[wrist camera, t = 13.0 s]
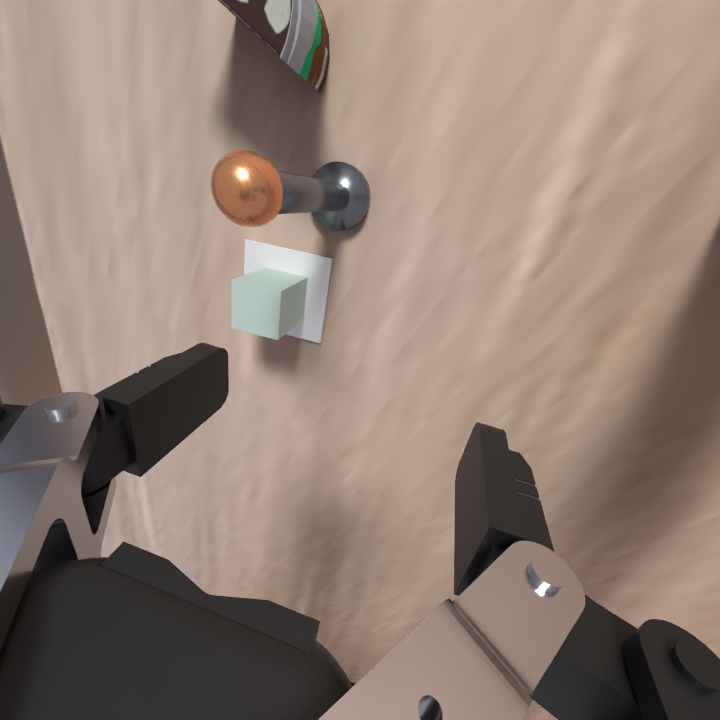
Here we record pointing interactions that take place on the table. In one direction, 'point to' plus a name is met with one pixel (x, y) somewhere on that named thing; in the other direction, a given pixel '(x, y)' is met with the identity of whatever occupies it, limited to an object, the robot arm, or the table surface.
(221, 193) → the metal post
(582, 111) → the table surface
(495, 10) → the table surface
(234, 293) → the green block
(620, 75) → the table surface
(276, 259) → the pad
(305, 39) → the food container
